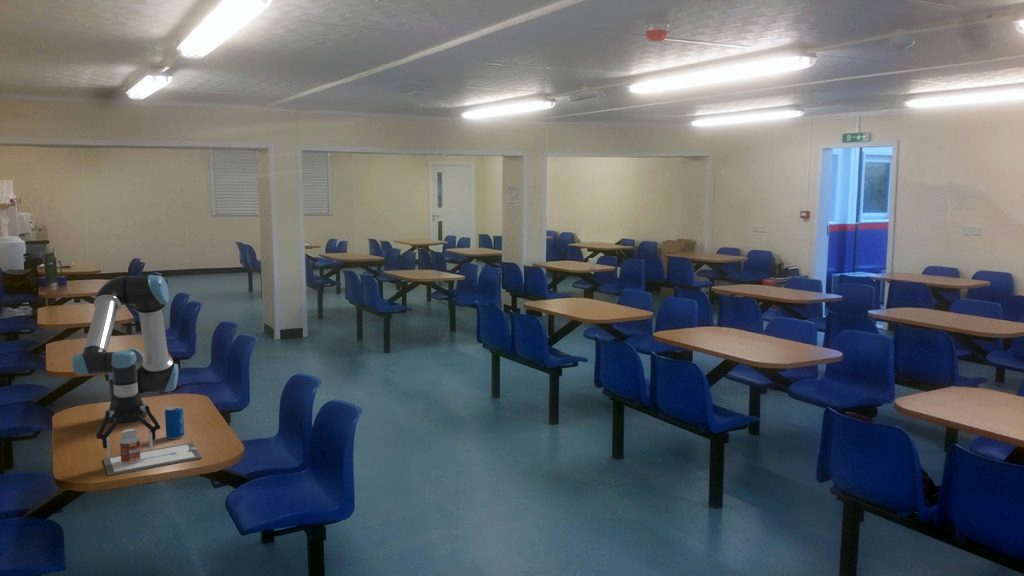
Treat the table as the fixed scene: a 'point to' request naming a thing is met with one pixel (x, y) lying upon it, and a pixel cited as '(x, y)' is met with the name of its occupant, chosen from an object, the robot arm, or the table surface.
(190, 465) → the table surface
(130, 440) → the pill bottle
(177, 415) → the beverage can
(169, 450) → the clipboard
